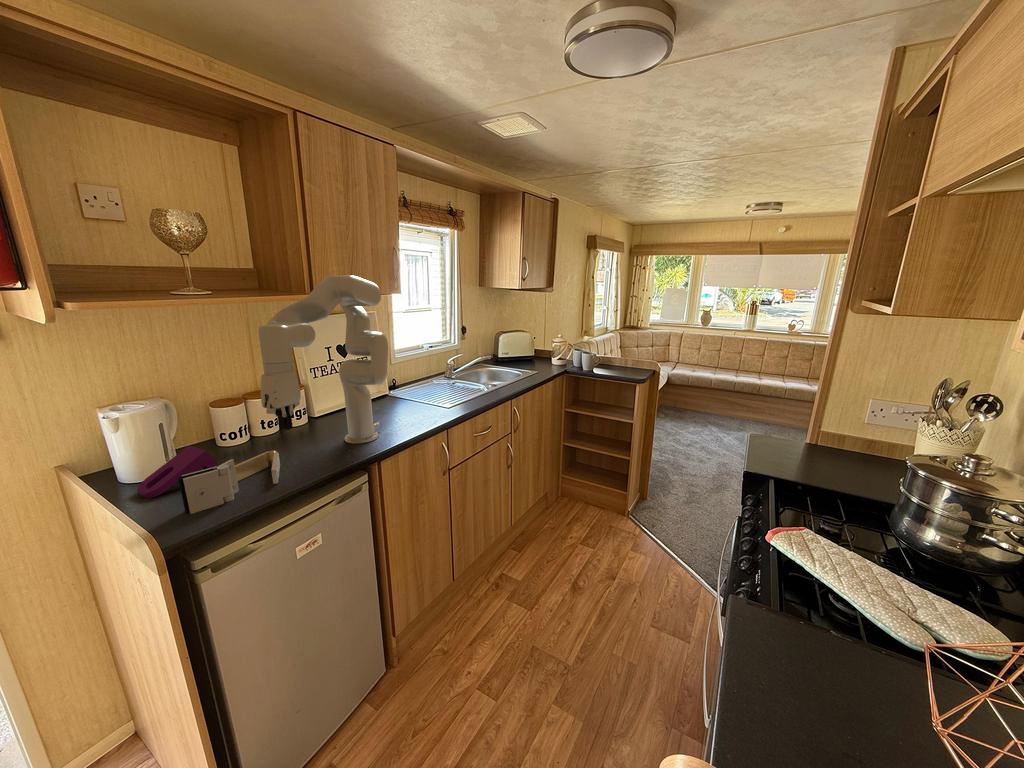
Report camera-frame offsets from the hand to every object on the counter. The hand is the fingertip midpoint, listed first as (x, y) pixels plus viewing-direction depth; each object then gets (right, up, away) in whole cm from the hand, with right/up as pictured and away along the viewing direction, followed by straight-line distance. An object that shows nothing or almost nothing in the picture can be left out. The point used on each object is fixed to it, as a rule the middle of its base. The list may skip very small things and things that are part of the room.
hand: (286, 428), depth 121 cm
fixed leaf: (-16, -16, +10) cm, 25 cm away
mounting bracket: (-35, -18, +3) cm, 40 cm away
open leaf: (-8, -16, +10) cm, 20 cm away
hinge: (-16, -20, -7) cm, 27 cm away
